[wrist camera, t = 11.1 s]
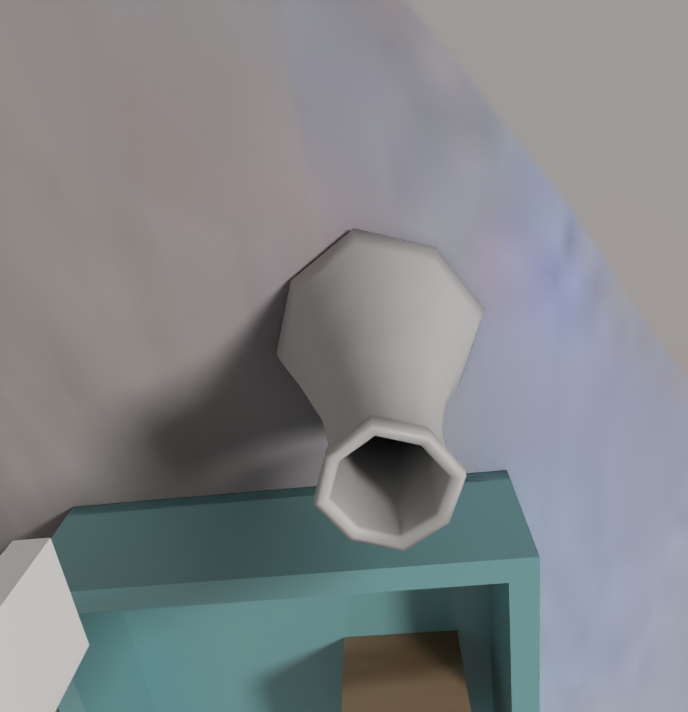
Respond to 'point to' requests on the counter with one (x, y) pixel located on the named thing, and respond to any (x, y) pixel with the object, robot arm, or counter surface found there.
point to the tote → (290, 600)
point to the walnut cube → (404, 673)
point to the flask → (381, 381)
